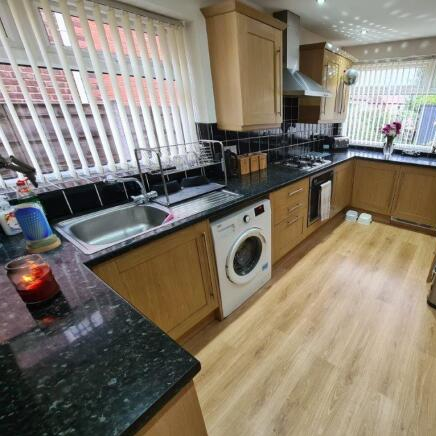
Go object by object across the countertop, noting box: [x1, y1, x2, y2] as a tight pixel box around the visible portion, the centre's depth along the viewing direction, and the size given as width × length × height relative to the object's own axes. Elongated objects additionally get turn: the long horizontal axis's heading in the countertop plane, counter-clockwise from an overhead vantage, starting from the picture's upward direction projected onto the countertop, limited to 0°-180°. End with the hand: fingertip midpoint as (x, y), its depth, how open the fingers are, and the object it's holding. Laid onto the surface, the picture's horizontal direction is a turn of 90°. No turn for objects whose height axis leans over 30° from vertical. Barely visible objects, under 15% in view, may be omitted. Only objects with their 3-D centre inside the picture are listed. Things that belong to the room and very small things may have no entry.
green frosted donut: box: [25, 233, 62, 254], centre depth 108 cm, size 11×11×4 cm
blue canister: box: [12, 201, 54, 243], centre depth 104 cm, size 8×8×16 cm
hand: (15, 190), depth 100 cm, fingers open, 13 cm apart
